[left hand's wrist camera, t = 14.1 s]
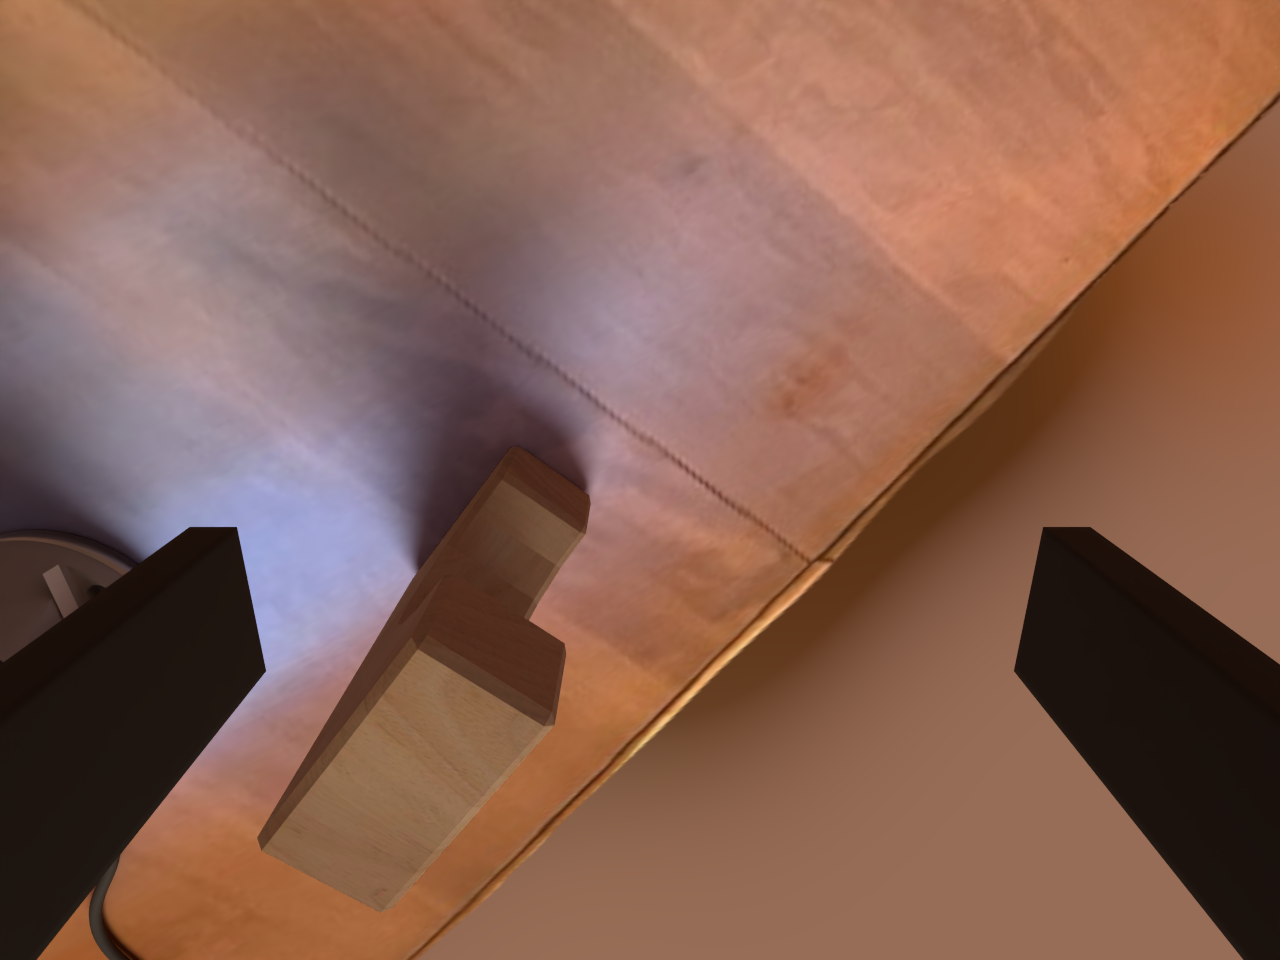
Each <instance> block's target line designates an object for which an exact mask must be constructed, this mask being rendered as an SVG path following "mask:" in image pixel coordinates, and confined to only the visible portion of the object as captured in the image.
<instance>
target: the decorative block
mask: <svg viewBox="0 0 1280 960" xmlns="http://www.w3.org/2000/svg"><path fill="white" fill-rule="evenodd" d="M590 504H591V503H590V497H589V495H588V494H586V493H585V492H584V491H582V490H581V489H579V488H578V487H577V486H575V485H574V484H572V483H571V482H569V481H568V480H567V479H565V478H564V477H562V476H561V475H559V474H558V473H557V472H555V471H554V470H552V469H551V468H550V467H548V466H547V465H545V464H544V463H542V462H541V461H540V460H538V459H537V458H535V457H534V456H532V455H531V454H530V453H528V452H527V451H525V450H524V449H523V448H521V447H520V446H519V447H511V448H510V449H509V450H508V452H507V453H506V454H505V456H504V457H503V458H502V460H501V461H500V462H499V464H498V465H497V466H496V468H495V469H494V470H493V472H492V473H491V475H490V476H489V477H488V479H487V480H486V481H485V483H484V484H483V485H482V487H481V488H480V489H479V491H478V492H477V493H476V495H475V496H474V497H473V499H472V500H471V501H470V503H469V504H468V505H467V507H466V508H465V509H464V511H463V512H462V513H461V515H460V516H459V517H458V519H457V520H456V521H455V523H454V524H453V525H452V527H451V528H450V530H449V531H448V532H447V534H446V535H445V536H444V538H443V539H442V540H441V542H440V543H439V544H438V546H437V547H436V548H435V550H434V551H433V552H432V554H431V555H430V556H429V558H428V559H427V560H426V562H425V563H424V564H423V566H422V567H421V568H420V570H419V571H418V572H417V574H416V575H415V576H414V578H413V579H412V581H411V583H410V584H409V586H408V588H407V589H406V591H405V593H404V594H403V596H402V598H401V599H400V601H399V603H398V604H397V606H396V608H395V609H394V611H393V613H392V614H391V616H390V617H389V619H388V621H387V622H386V624H385V626H384V627H383V629H382V631H381V632H380V634H379V636H378V637H377V639H376V641H375V642H374V644H373V646H372V647H371V649H370V651H369V652H368V654H367V656H366V657H365V659H364V661H363V662H362V664H361V666H360V667H359V669H358V671H357V672H356V674H355V676H354V677H353V679H352V681H351V682H350V684H349V686H348V687H347V689H346V691H345V692H344V694H343V696H342V697H341V699H340V701H339V702H338V704H337V706H336V707H335V709H334V711H333V712H332V714H331V716H330V717H329V719H328V721H327V722H326V724H325V726H324V727H323V729H322V731H321V732H320V734H319V736H318V737H317V739H316V741H315V742H314V744H313V746H312V747H311V749H310V751H309V752H308V754H307V756H306V757H305V759H304V761H303V762H302V764H301V766H300V767H299V769H298V771H297V772H296V774H295V776H294V777H293V779H292V781H291V782H290V784H289V786H288V787H287V789H286V791H285V792H284V794H283V796H282V797H281V799H280V801H279V802H278V804H277V806H276V807H275V809H274V811H273V812H272V814H271V816H270V817H269V819H268V821H267V822H266V824H265V826H264V827H263V829H262V831H261V832H260V834H259V836H258V837H257V838H258V841H259V844H260V847H261V850H262V851H263V852H265V853H267V854H269V855H271V856H273V857H275V858H277V859H278V860H280V861H282V862H284V863H286V864H288V865H290V866H292V867H294V868H296V869H298V870H300V871H302V872H303V873H305V874H307V875H309V876H311V877H313V878H315V879H317V880H319V881H321V882H323V883H325V884H327V885H328V886H330V887H332V888H334V889H336V890H338V891H340V892H342V893H344V894H346V895H348V896H350V897H352V898H353V899H355V900H357V901H359V902H361V903H363V904H365V905H367V906H369V907H371V908H373V909H375V910H376V911H378V912H380V913H381V912H384V911H386V910H389V909H392V908H393V907H394V906H395V905H396V903H397V902H398V901H399V900H400V899H401V898H402V897H403V896H404V895H405V893H406V892H407V891H408V890H409V889H410V888H411V887H412V886H413V884H414V883H415V882H416V881H417V880H418V879H419V878H420V877H421V875H422V874H423V873H424V872H425V871H426V870H427V869H428V868H429V866H430V865H431V864H432V863H433V862H434V861H435V860H436V859H437V857H438V856H439V855H440V854H441V853H442V852H443V851H444V850H445V848H446V847H447V846H448V845H449V844H450V843H451V842H452V841H453V839H454V838H455V837H456V836H457V835H458V834H459V833H460V832H461V830H462V829H463V828H464V827H465V826H466V825H467V824H468V823H469V821H470V820H471V819H472V818H473V817H474V816H475V815H476V814H477V812H478V811H479V810H480V809H481V808H482V807H483V806H484V804H485V803H486V802H487V801H488V800H489V799H490V798H491V797H492V795H493V794H494V793H495V792H496V791H497V790H498V789H499V787H500V786H501V785H502V784H503V783H504V782H505V781H506V779H507V778H508V777H509V776H510V775H511V774H512V773H513V772H514V770H515V769H516V768H517V767H518V766H519V765H520V764H521V762H522V761H523V760H524V759H525V758H526V757H527V756H528V755H529V753H530V752H531V751H532V750H533V749H534V748H535V747H536V745H537V744H538V743H539V742H540V741H541V740H542V739H543V738H544V736H545V735H546V734H547V733H548V732H549V731H550V730H551V728H552V727H553V726H554V725H555V719H556V713H557V707H558V701H559V694H560V688H561V682H562V676H563V670H564V664H565V658H566V650H565V644H564V643H563V642H561V641H560V640H558V639H557V638H555V637H554V636H552V635H550V634H549V633H547V632H546V631H544V630H543V629H541V628H540V627H538V626H536V625H535V624H533V623H532V622H530V621H529V619H530V617H531V615H532V614H533V612H534V610H535V608H536V606H537V604H538V603H539V601H540V600H541V598H542V596H543V595H544V593H545V592H546V590H547V588H548V587H549V585H550V584H551V582H552V580H553V579H554V577H555V576H556V574H557V572H558V571H559V569H560V568H561V566H562V565H563V564H564V562H565V561H566V560H567V558H568V557H569V556H570V554H571V553H572V552H573V550H574V549H575V548H576V546H577V545H578V544H579V542H580V541H581V539H582V538H583V537H584V535H585V534H586V529H587V523H588V517H589V510H590Z"/></svg>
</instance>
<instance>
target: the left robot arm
mask: <svg viewBox="0 0 1280 960" xmlns="http://www.w3.org/2000/svg"><path fill="white" fill-rule="evenodd" d="M265 672H266V669H265V664H264V659H263V654H262V649H261V644H260V639H259V634H258V629H257V624H256V619H255V614H254V609H253V604H252V600H251V595H250V590H249V585H248V580H247V575H246V570H245V565H244V560H243V555H242V550H241V545H240V540H239V535H238V531H237V527H189V528H188V529H186V530H185V531H184V532H182V533H181V534H180V535H178V536H177V537H175V538H174V539H173V540H171V541H170V542H169V543H167V544H166V545H164V546H163V547H162V548H160V549H159V550H158V551H156V552H155V553H153V554H152V555H151V556H149V557H148V558H146V559H145V560H144V561H142V562H141V563H140V564H138V565H137V564H136V563H134V562H133V561H131V560H130V559H128V558H127V557H125V556H123V555H122V554H120V553H118V552H116V551H115V550H113V549H111V548H108V547H106V546H104V545H102V544H100V543H97V542H95V541H92V540H89V539H87V538H83V537H80V536H76V535H73V534H68V533H63V532H57V531H49V530H21V531H14V532H9V533H4V534H0V960H37V958H38V957H39V956H40V955H41V953H42V952H43V951H44V950H45V948H46V947H47V946H48V945H49V943H50V942H51V941H52V940H53V938H54V937H55V936H56V935H57V933H58V932H59V931H60V930H61V928H62V927H63V926H64V924H65V923H66V922H67V921H68V919H69V918H70V917H71V916H72V914H73V913H74V912H75V911H76V909H77V908H78V907H79V906H80V904H81V903H82V902H83V901H84V899H85V898H86V897H87V896H88V894H89V893H90V892H91V891H92V889H93V888H94V887H95V886H96V884H97V883H98V884H97V886H96V888H95V890H94V893H93V896H92V899H91V902H90V907H89V922H90V928H91V932H92V935H93V937H94V939H95V941H96V943H97V945H98V946H99V948H100V949H101V951H102V952H103V953H104V954H105V955H106V957H107V958H108V959H109V960H130V959H129V958H128V957H127V956H126V955H125V954H123V953H122V951H121V950H120V949H119V948H118V947H117V946H116V945H115V944H114V943H113V941H112V940H111V938H110V937H109V935H108V934H107V931H106V929H105V927H104V924H103V920H102V906H103V901H104V898H105V895H106V893H107V890H108V888H109V886H110V883H111V881H112V879H113V877H114V875H115V872H116V869H117V866H118V862H119V857H120V854H121V853H122V852H123V850H124V849H125V848H126V847H127V845H128V844H129V843H130V841H131V840H132V839H133V838H134V836H135V835H136V834H137V833H138V831H139V830H140V829H141V828H142V826H143V825H144V824H145V823H146V821H147V820H148V819H149V818H150V816H151V815H152V814H153V813H154V811H155V810H156V809H157V808H158V806H159V805H160V804H161V802H162V801H163V800H164V799H165V797H166V796H167V795H168V794H169V792H170V791H171V790H172V789H173V787H174V786H175V785H176V784H177V782H178V781H179V780H180V779H181V777H182V776H183V775H184V774H185V772H186V771H187V770H188V769H189V767H190V766H191V765H192V763H193V762H194V761H195V760H196V758H197V757H198V756H199V755H200V753H201V752H202V751H203V750H204V748H205V747H206V746H207V745H208V743H209V742H210V741H211V740H212V738H213V737H214V736H215V735H216V733H217V732H218V731H219V730H220V728H221V727H222V726H223V725H224V723H225V722H226V721H227V719H228V718H229V717H230V716H231V714H232V713H233V712H234V711H235V709H236V708H237V707H238V706H239V704H240V703H241V702H242V701H243V699H244V698H245V697H246V696H247V694H248V693H249V692H250V691H251V689H252V688H253V687H254V686H255V684H256V683H257V682H258V680H259V679H260V678H261V677H262V675H263V674H264V673H265ZM1014 672H1015V673H1016V674H1017V675H1018V677H1019V678H1020V679H1021V680H1022V682H1023V683H1024V684H1025V685H1026V687H1027V688H1028V689H1029V691H1030V692H1031V693H1032V694H1033V696H1034V697H1035V698H1036V699H1037V701H1038V702H1039V703H1040V704H1041V706H1042V707H1043V708H1044V709H1045V711H1046V712H1047V713H1048V714H1049V716H1050V717H1051V718H1052V719H1053V721H1054V722H1055V723H1056V725H1057V726H1058V727H1059V728H1060V730H1061V731H1062V732H1063V733H1064V735H1065V736H1066V737H1067V738H1068V740H1069V741H1070V742H1071V743H1072V745H1073V746H1074V747H1075V748H1076V750H1077V751H1078V752H1079V753H1080V755H1081V756H1082V757H1083V758H1084V760H1085V761H1086V762H1087V763H1088V765H1089V766H1090V767H1091V769H1092V770H1093V771H1094V772H1095V774H1096V775H1097V776H1098V777H1099V779H1100V780H1101V781H1102V782H1103V784H1104V785H1105V786H1106V787H1107V789H1108V790H1109V791H1110V792H1111V794H1112V795H1113V796H1114V797H1115V799H1116V800H1117V801H1118V802H1119V804H1120V805H1121V806H1122V807H1123V809H1124V810H1125V811H1126V813H1127V814H1128V815H1129V816H1130V818H1131V819H1132V820H1133V821H1134V823H1135V824H1136V825H1137V826H1138V828H1139V829H1140V830H1141V831H1142V833H1143V834H1144V835H1145V836H1146V838H1147V839H1148V840H1149V841H1150V843H1151V844H1152V845H1153V846H1154V848H1155V849H1156V850H1157V852H1158V853H1159V854H1160V855H1161V857H1162V858H1163V859H1164V860H1165V862H1166V863H1167V864H1168V865H1169V867H1170V868H1171V869H1172V870H1173V872H1174V873H1175V874H1176V875H1177V877H1178V878H1179V879H1180V880H1181V882H1182V883H1183V884H1184V886H1185V887H1186V888H1187V889H1188V891H1189V892H1190V893H1191V894H1192V896H1193V897H1194V898H1195V899H1196V901H1197V902H1198V903H1199V904H1200V906H1201V907H1202V908H1203V909H1204V911H1205V912H1206V913H1207V914H1208V916H1209V917H1210V918H1211V919H1212V921H1213V922H1214V923H1215V924H1216V926H1217V927H1218V928H1219V930H1220V931H1221V932H1222V933H1223V935H1224V936H1225V937H1226V938H1227V940H1228V941H1229V942H1230V943H1231V945H1232V946H1233V947H1234V948H1235V950H1236V951H1237V952H1238V953H1239V955H1240V956H1241V957H1242V958H1243V960H1280V664H1278V663H1277V662H1276V661H1274V660H1273V659H1271V658H1270V657H1269V656H1267V655H1266V654H1265V653H1263V652H1262V651H1260V650H1259V649H1258V648H1256V647H1255V646H1253V645H1252V644H1251V643H1249V642H1248V641H1247V640H1245V639H1244V638H1242V637H1241V636H1240V635H1238V634H1237V633H1236V632H1234V631H1233V630H1231V629H1230V628H1229V627H1227V626H1226V625H1225V624H1223V623H1222V622H1220V621H1219V620H1218V619H1216V618H1215V617H1213V616H1212V615H1211V614H1209V613H1208V612H1207V611H1205V610H1204V609H1202V608H1201V607H1200V606H1198V605H1197V604H1196V603H1194V602H1193V601H1191V600H1190V599H1189V598H1187V597H1186V596H1185V595H1183V594H1182V593H1180V592H1179V591H1178V590H1176V589H1175V588H1174V587H1172V586H1171V585H1169V584H1168V583H1167V582H1165V581H1164V580H1162V579H1161V578H1160V577H1158V576H1157V575H1156V574H1154V573H1153V572H1151V571H1150V570H1149V569H1147V568H1146V567H1144V566H1143V565H1142V564H1140V563H1139V562H1138V561H1136V560H1135V559H1133V558H1132V557H1131V556H1129V555H1128V554H1127V553H1125V552H1124V551H1122V550H1121V549H1120V548H1118V547H1117V546H1116V545H1114V544H1113V543H1111V542H1110V541H1109V540H1107V539H1106V538H1104V537H1103V536H1102V535H1100V534H1099V533H1098V532H1096V531H1095V530H1094V529H1092V528H1091V527H1043V531H1042V535H1041V541H1040V545H1039V550H1038V555H1037V560H1036V565H1035V570H1034V575H1033V580H1032V585H1031V590H1030V595H1029V600H1028V604H1027V609H1026V614H1025V619H1024V624H1023V629H1022V634H1021V639H1020V644H1019V649H1018V654H1017V659H1016V664H1015V669H1014Z"/></svg>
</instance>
